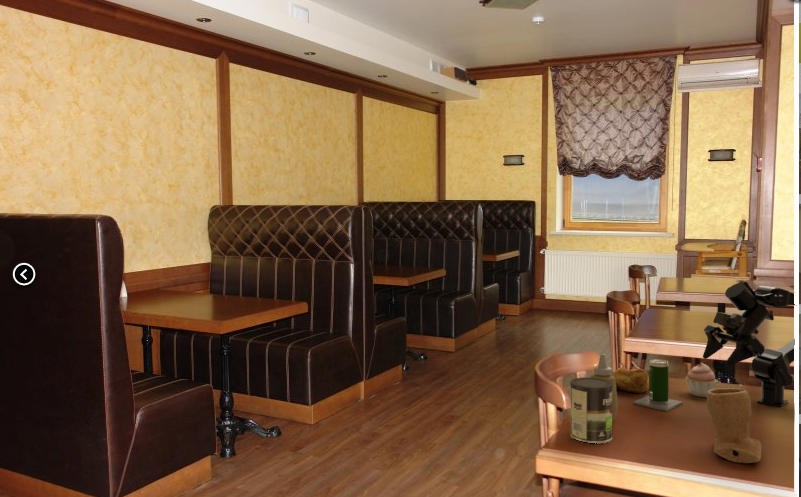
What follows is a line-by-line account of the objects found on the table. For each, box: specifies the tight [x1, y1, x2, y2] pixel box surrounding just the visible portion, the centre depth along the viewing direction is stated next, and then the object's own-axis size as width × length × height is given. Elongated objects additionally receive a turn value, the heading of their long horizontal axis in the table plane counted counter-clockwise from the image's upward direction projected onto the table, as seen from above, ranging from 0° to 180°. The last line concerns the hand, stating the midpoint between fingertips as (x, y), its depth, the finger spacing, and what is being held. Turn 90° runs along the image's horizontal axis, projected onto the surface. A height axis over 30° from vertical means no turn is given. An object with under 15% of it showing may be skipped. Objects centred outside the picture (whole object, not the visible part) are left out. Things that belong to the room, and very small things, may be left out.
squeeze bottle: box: [589, 353, 619, 422], centre depth 179 cm, size 8×8×18 cm
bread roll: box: [612, 367, 649, 394], centre depth 208 cm, size 13×10×8 cm
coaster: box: [633, 394, 683, 412], centre depth 193 cm, size 10×10×1 cm
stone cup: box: [705, 387, 762, 464], centre depth 154 cm, size 15×12×15 cm
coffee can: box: [569, 377, 613, 445], centre depth 166 cm, size 10×10×14 cm
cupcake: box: [685, 362, 719, 398], centre depth 201 cm, size 9×9×10 cm
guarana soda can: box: [648, 358, 670, 404], centre depth 192 cm, size 5×5×12 cm
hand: (714, 361), depth 187 cm, fingers open, 9 cm apart
